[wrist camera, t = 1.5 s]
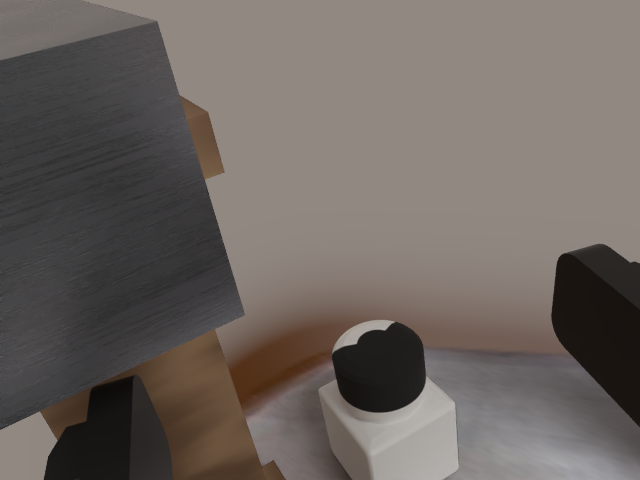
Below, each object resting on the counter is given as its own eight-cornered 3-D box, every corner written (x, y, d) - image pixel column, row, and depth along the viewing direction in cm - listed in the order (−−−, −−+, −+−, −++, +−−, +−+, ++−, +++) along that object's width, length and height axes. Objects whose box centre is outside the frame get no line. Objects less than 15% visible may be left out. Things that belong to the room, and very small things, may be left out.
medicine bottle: (461, 470, 41) (454, 348, 35) (380, 522, 39) (358, 401, 32) (404, 409, 47) (389, 295, 40) (330, 451, 44) (303, 336, 38)
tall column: (278, 476, 43) (144, 55, 27) (365, 619, 34) (238, 102, 17) (126, 567, 39) (-145, 133, 22) (175, 760, 29) (-231, 252, 13)
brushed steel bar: (53, 72, 27) (17, -18, 25) (244, 315, 8) (157, 20, 6) (-37, 96, 25) (-84, 3, 23) (-65, 460, 7) (-320, 140, 4)
